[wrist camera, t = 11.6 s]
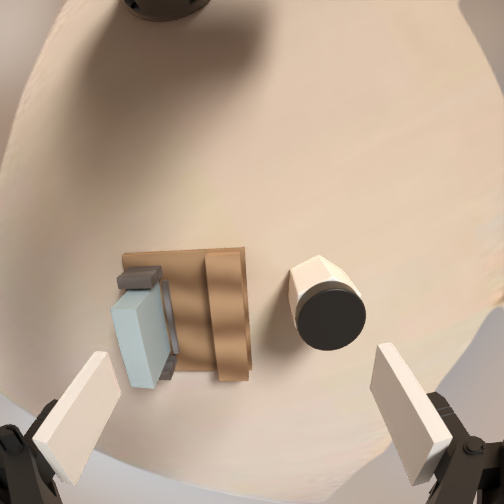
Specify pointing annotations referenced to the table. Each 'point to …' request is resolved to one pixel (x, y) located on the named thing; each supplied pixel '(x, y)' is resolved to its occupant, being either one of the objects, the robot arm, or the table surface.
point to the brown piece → (199, 307)
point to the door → (142, 335)
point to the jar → (325, 304)
